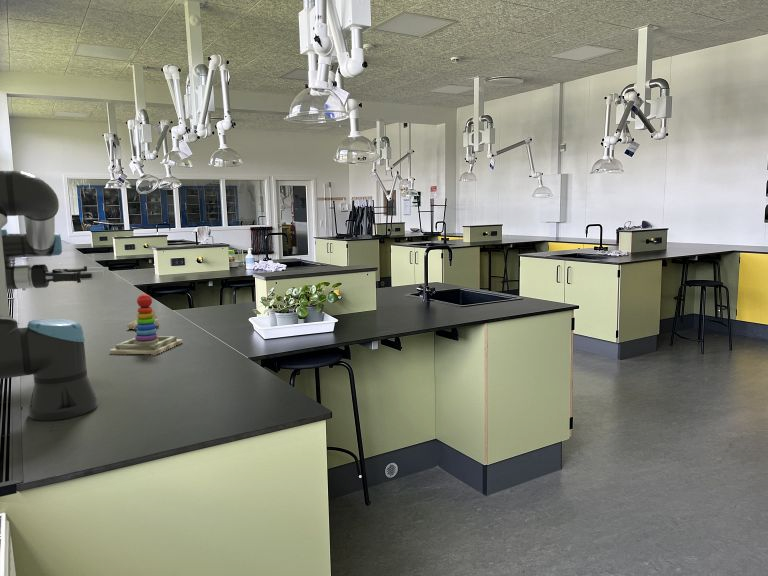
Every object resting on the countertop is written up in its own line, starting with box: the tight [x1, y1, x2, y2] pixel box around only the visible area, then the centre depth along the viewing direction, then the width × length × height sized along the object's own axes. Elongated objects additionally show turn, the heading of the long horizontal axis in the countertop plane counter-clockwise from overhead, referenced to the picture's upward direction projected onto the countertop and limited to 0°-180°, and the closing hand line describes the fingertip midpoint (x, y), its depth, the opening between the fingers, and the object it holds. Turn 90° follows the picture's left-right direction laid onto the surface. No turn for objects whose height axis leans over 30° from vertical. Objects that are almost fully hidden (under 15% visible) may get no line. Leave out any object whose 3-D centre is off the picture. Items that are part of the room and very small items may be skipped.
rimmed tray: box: [108, 335, 183, 356], centre depth 205 cm, size 18×18×3 cm
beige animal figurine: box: [126, 309, 160, 331], centre depth 242 cm, size 8×12×10 cm
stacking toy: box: [134, 293, 159, 345], centre depth 204 cm, size 8×8×19 cm
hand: (106, 272), depth 186 cm, fingers open, 13 cm apart
